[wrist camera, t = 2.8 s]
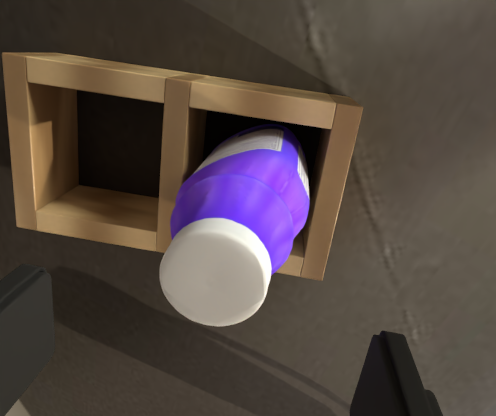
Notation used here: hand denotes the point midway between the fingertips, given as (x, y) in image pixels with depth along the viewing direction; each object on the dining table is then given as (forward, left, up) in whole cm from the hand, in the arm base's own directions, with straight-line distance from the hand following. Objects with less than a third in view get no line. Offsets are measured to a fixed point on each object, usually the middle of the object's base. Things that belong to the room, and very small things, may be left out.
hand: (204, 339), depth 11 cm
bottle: (0, 0, -21) cm, 21 cm away
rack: (-5, 0, -21) cm, 21 cm away
